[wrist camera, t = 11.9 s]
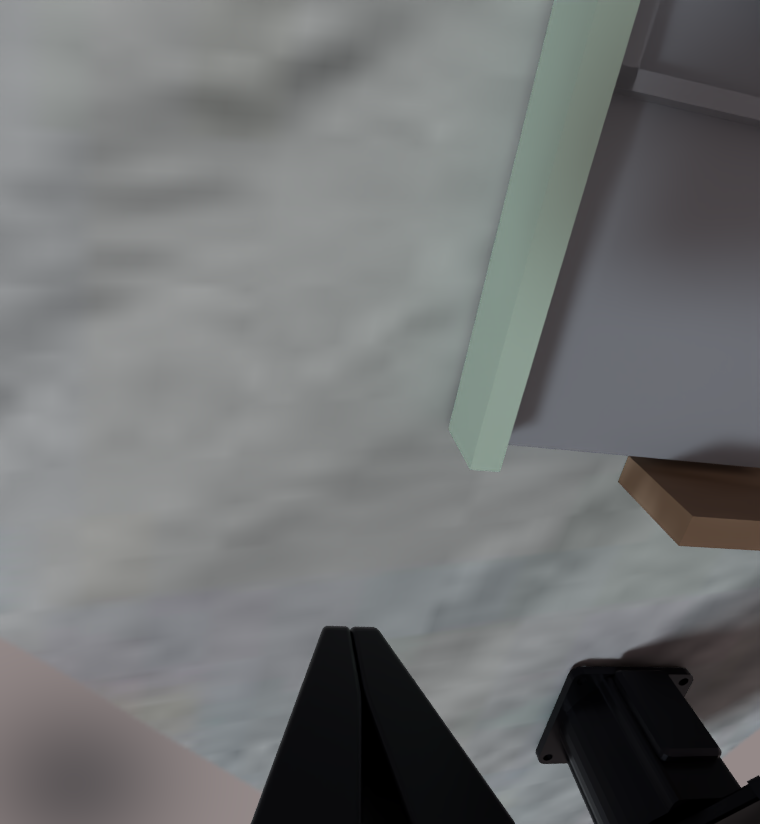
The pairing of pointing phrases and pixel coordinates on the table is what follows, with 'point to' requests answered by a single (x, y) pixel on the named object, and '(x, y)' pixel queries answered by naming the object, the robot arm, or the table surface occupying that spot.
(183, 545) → the table surface
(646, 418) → the tray
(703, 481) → the dock
